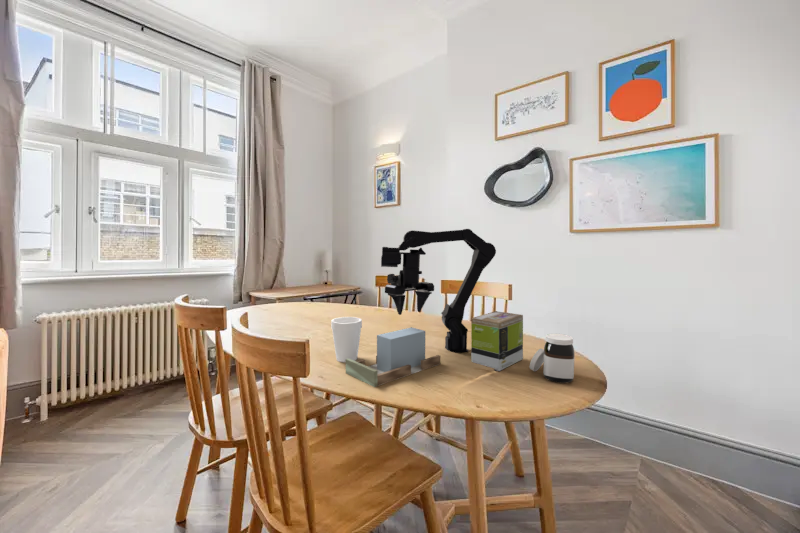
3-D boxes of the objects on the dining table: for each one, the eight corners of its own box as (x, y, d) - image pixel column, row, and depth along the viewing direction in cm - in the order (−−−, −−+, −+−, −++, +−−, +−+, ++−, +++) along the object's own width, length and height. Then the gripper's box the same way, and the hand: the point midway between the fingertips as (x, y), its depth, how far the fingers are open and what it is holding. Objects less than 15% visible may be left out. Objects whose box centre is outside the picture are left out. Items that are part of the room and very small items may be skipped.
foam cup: (325, 363, 110) (325, 321, 109) (341, 354, 118) (341, 316, 117) (352, 367, 106) (352, 324, 105) (367, 358, 115) (366, 318, 114)
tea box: (495, 353, 120) (496, 310, 119) (523, 360, 113) (524, 314, 112) (469, 363, 110) (470, 316, 109) (499, 372, 103) (500, 321, 101)
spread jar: (575, 387, 92) (577, 343, 91) (529, 381, 96) (530, 338, 95) (570, 371, 103) (572, 332, 103) (529, 366, 107) (530, 328, 106)
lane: (398, 351, 122) (398, 338, 121) (456, 371, 103) (456, 355, 103) (334, 369, 104) (334, 354, 104) (389, 396, 86) (389, 378, 86)
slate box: (411, 358, 113) (411, 327, 112) (425, 363, 108) (425, 330, 108) (376, 369, 103) (376, 335, 102) (390, 374, 99) (390, 339, 98)
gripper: (413, 265, 133) (412, 306, 134) (374, 266, 120) (373, 312, 121) (436, 267, 125) (434, 311, 126) (397, 269, 112) (395, 318, 113)
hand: (409, 313), depth 122 cm, fingers open, 9 cm apart
